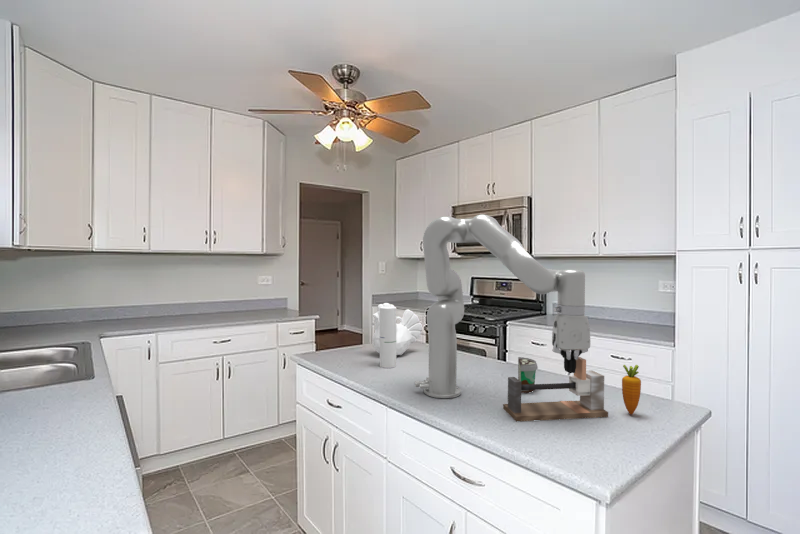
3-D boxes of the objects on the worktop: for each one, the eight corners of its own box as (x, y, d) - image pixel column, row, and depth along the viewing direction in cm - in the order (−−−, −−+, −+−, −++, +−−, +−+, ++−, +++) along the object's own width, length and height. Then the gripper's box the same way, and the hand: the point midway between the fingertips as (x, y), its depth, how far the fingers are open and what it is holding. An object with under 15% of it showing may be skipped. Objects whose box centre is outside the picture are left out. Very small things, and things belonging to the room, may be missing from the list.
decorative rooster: (374, 359, 187) (375, 305, 186) (370, 352, 202) (370, 301, 201) (428, 357, 192) (428, 304, 191) (419, 349, 207) (419, 300, 207)
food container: (539, 395, 139) (540, 366, 138) (520, 394, 140) (521, 365, 140) (535, 384, 151) (535, 357, 151) (517, 383, 152) (518, 356, 152)
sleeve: (577, 395, 122) (577, 360, 121) (569, 390, 126) (569, 356, 126) (590, 395, 122) (590, 359, 122) (581, 390, 127) (581, 355, 127)
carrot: (617, 412, 124) (618, 363, 123) (629, 410, 125) (629, 361, 125) (632, 418, 119) (633, 367, 119) (644, 416, 121) (645, 365, 121)
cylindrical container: (386, 362, 181) (386, 306, 181) (399, 365, 177) (399, 307, 176) (376, 366, 175) (376, 307, 175) (389, 369, 171) (389, 309, 171)
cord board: (516, 421, 117) (516, 381, 116) (503, 408, 126) (503, 371, 126) (608, 417, 120) (608, 377, 120) (588, 404, 130) (588, 368, 130)
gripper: (553, 312, 119) (552, 376, 119) (601, 312, 120) (600, 374, 121) (541, 309, 126) (540, 369, 126) (586, 309, 128) (586, 367, 128)
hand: (569, 371), depth 124 cm, fingers closed
